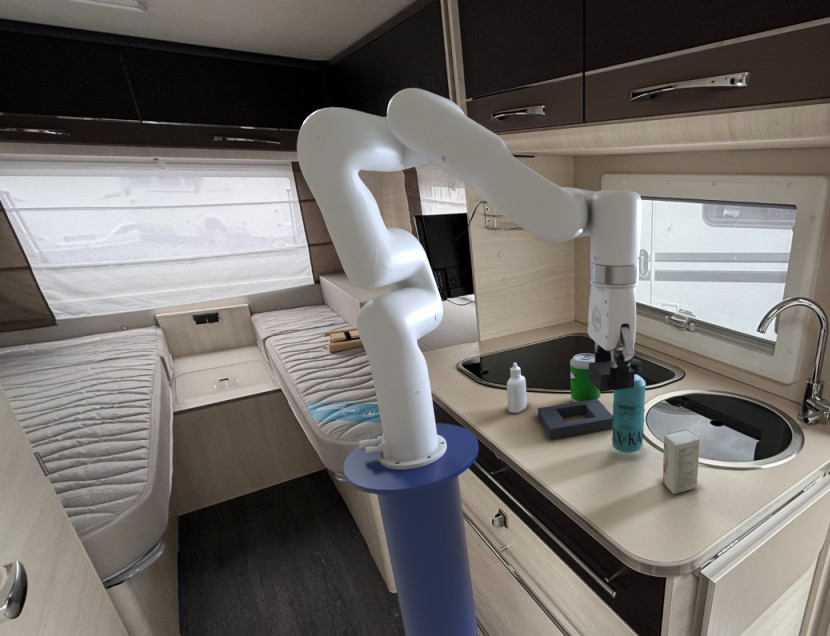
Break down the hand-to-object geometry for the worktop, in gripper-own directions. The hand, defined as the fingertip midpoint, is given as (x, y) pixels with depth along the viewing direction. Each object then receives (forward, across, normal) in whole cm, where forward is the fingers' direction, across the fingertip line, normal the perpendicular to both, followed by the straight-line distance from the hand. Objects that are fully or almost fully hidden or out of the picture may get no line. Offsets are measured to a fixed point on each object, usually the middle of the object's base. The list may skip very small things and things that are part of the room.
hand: (610, 379), depth 80 cm
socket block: (+20, -24, +2) cm, 32 cm away
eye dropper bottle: (+21, -36, -10) cm, 43 cm away
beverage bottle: (+20, -8, +8) cm, 23 cm away
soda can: (+21, -34, +8) cm, 41 cm away
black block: (+1, 0, 0) cm, 1 cm away
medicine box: (+20, +6, +12) cm, 24 cm away
